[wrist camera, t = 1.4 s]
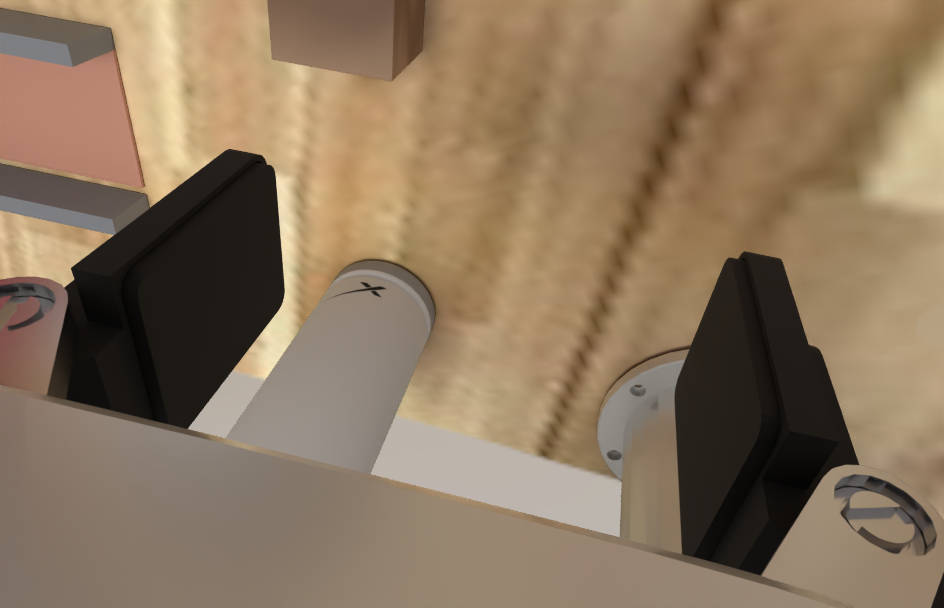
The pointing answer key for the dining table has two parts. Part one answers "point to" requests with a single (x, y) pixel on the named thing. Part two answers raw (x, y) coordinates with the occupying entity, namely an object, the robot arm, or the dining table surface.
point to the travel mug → (344, 370)
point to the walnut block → (348, 34)
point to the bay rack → (65, 124)
